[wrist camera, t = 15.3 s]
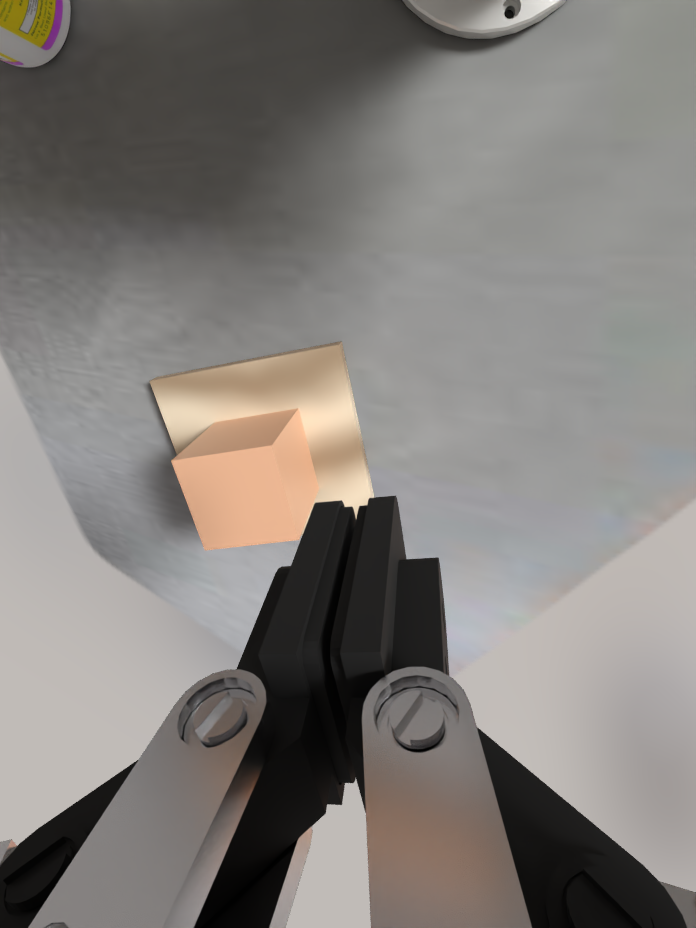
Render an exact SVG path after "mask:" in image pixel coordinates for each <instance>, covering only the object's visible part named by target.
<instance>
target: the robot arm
mask: <svg viewBox="0 0 696 928" xmlns="http://www.w3.org/2000/svg"><path fill="white" fill-rule="evenodd" d="M402 1H403V2H404V3H405V5H406V6H407V7H408V8H409V9H410V10H411V11H412V12H414V13H415V14H416V15H417V16H418V17H419V18H421V19H422V20H423V21H424V22H425V23H427V24H429V25H431V26H433V27H435V28H436V29H438V30H440V31H442V32H444V33H446V34H450V35H454V36H459V37H463V38H467V39H492V38H496V37H501V36H505V35H509V34H513V33H516V32H518V31H521V30H523V29H525V28H527V27H529V26H531V25H533V24H535V23H537V22H539V21H541V20H542V19H544V18H545V17H546V16H548V15H549V14H551V13H552V12H553V11H555V10H556V9H557V8H559V7H560V6H561V5H563V4H564V3H565V2H566V1H567V0H402ZM506 10H512V11H513V14H514V16H513V18H511V19H507V18H506V17H505V15H504V12H505V11H506ZM355 778H356V779H357V783H358V786H359V790H360V793H361V797H362V801H363V805H364V808H365V812H366V823H367V848H368V871H369V892H370V893H369V894H370V916H371V928H696V892H692V891H689V890H686V889H683V888H679V887H676V886H673V885H670V884H666V883H663V882H660V881H658V880H657V879H656V878H655V877H654V876H653V875H652V874H651V873H650V872H649V871H648V870H647V869H646V868H645V867H644V866H643V865H642V864H641V863H640V862H639V861H637V860H636V859H635V858H634V857H633V856H631V855H630V854H629V853H628V852H627V851H625V850H624V849H623V848H622V847H621V846H619V845H618V844H617V843H616V842H615V841H613V840H612V839H611V838H610V837H609V836H607V835H606V834H605V833H604V832H602V831H601V830H600V829H599V828H598V827H596V826H595V825H594V824H593V823H592V822H590V821H589V820H588V819H587V818H586V817H584V816H583V815H582V814H581V813H579V812H578V811H577V810H576V809H575V808H574V807H572V806H571V805H570V804H569V803H568V802H566V801H565V800H564V799H563V798H562V797H560V796H559V795H558V794H557V793H555V792H554V791H553V790H552V789H551V788H550V787H548V786H547V785H546V784H545V783H544V782H542V781H541V780H540V779H539V778H537V777H536V776H535V775H534V774H533V773H531V772H530V771H529V770H528V769H527V768H526V767H524V766H523V765H522V764H521V763H519V762H518V761H517V760H516V759H515V758H513V757H512V756H511V755H510V754H509V753H507V752H506V751H505V750H504V749H503V748H501V747H500V746H499V745H498V744H497V743H495V742H494V741H493V740H492V739H491V738H489V737H488V736H487V735H486V734H485V733H483V732H482V731H481V730H480V729H479V728H477V727H476V723H475V719H474V716H473V712H472V708H471V705H470V702H469V700H468V698H467V696H466V694H465V692H464V690H463V689H462V687H461V686H460V685H459V684H458V683H457V682H456V681H455V680H454V679H453V678H451V677H450V676H449V666H448V650H447V634H446V620H445V609H444V598H443V589H442V580H441V571H440V563H439V558H423V559H406V554H405V547H404V541H403V534H402V527H401V521H400V514H399V508H398V502H397V498H396V496H387V497H376V498H369V500H368V504H367V505H363V506H359V509H358V513H357V518H356V517H355V513H354V509H353V507H352V506H351V507H345V506H344V503H343V501H342V500H340V501H328V502H317V503H315V504H314V506H313V509H312V511H311V514H310V517H309V519H308V522H307V525H306V528H305V530H304V533H303V536H302V538H301V541H300V544H299V546H298V549H297V552H296V554H295V557H294V560H293V562H292V565H291V566H286V567H281V568H279V569H278V570H277V572H276V574H275V576H274V579H273V581H272V584H271V586H270V588H269V591H268V593H267V596H266V598H265V601H264V603H263V606H262V608H261V611H260V613H259V615H258V618H257V620H256V623H255V625H254V628H253V630H252V633H251V635H250V637H249V640H248V642H247V645H246V647H245V650H244V652H243V655H242V657H241V660H240V662H239V665H238V667H237V669H236V670H224V671H221V672H217V673H213V674H211V675H209V676H208V677H205V678H203V679H202V680H200V681H198V682H197V683H196V684H194V685H193V686H192V687H191V688H189V689H188V690H187V691H186V692H185V693H184V694H183V695H182V697H181V698H180V699H179V700H178V701H177V703H176V704H175V705H174V707H173V709H172V710H171V711H170V713H169V714H168V716H167V718H166V719H165V721H164V722H163V724H162V725H161V727H160V728H159V730H158V731H157V733H156V734H155V736H154V737H153V739H152V740H151V742H150V743H149V745H148V746H147V748H146V750H145V751H144V752H143V754H142V755H141V757H140V759H139V760H137V761H136V762H134V763H133V764H131V765H130V766H129V767H127V768H126V769H124V770H123V771H121V772H120V773H118V774H117V775H115V776H114V777H113V778H111V779H110V780H108V781H107V782H105V783H104V784H102V785H101V786H99V787H98V788H97V789H95V790H94V791H92V792H91V793H89V794H88V795H87V796H85V797H83V798H82V799H81V800H79V801H78V802H76V803H75V804H73V805H72V806H71V807H69V808H67V809H66V810H65V811H63V812H62V813H60V814H59V815H57V816H56V817H54V818H53V819H51V820H50V821H49V822H47V823H46V824H44V825H43V826H41V827H40V828H38V829H37V830H36V831H35V832H34V833H32V834H31V835H30V836H29V837H27V838H26V839H25V840H24V841H23V842H21V843H20V844H19V845H18V846H17V845H16V844H15V843H14V842H13V841H12V839H11V840H7V841H3V842H0V928H285V927H286V924H287V921H288V918H289V914H290V911H291V908H292V904H293V901H294V898H295V895H296V891H297V888H298V885H299V881H300V878H301V875H302V871H303V868H304V865H305V862H306V858H307V854H308V852H309V848H310V844H311V838H312V831H313V830H312V825H313V824H315V823H316V822H317V821H318V820H319V819H320V818H321V817H322V816H323V815H324V814H325V813H326V807H327V804H335V805H342V799H343V792H344V785H345V783H354V781H355Z"/></svg>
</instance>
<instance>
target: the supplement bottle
mask: <svg viewBox="0 0 696 928" xmlns="http://www.w3.org/2000/svg"><path fill="white" fill-rule="evenodd" d="M70 15H71V7H70V0H0V60H1V61H3V62H6V63H9V64H11V65H15V66H18V67H37V66H40V65H43V64H45V63H47V62H48V61H50V60H51V59H52V58H53V57H55V56H56V54H57V53H58V52H59V51H60V49H61V48H62V46H63V44H64V42H65V40H66V37H67V34H68V30H69V25H70Z"/></svg>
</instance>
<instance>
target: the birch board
mask: <svg viewBox="0 0 696 928" xmlns="http://www.w3.org/2000/svg"><path fill="white" fill-rule="evenodd" d="M150 384H151V387H152V389H153V392H154V395H155V397H156V400H157V403H158V405H159V408H160V411H161V414H162V416H163V419H164V422H165V424H166V427H167V430H168V432H169V435H170V438H171V440H172V443H173V446H174V448H175V451H176V454H177V455H178V454H179V453H181V452H182V451H183V450H184V449H185V448H186V447H187V446H188V445H190V444H191V443H192V442H193V441H194V440H195V439H196V438H198V437H199V436H200V435H201V434H202V433H203V432H204V431H206V430H207V429H208V428H209V427H210V426H211V425H212V424H214V423H215V422H219V421H225V420H231V419H237V418H243V417H249V416H255V415H261V414H267V413H273V412H279V411H285V410H291V409H297V408H299V412H300V416H301V420H302V423H303V427H304V431H305V435H306V439H307V443H308V447H309V451H310V455H311V459H312V462H313V466H314V470H315V474H316V478H317V482H318V486H319V491H318V493H317V496H316V498H315V501H314V503H313V506H314V504H315V503H317V502H328V501H340V500H342V501H343V503H344V506H345V507H351V506H352V507H353V509H354V513H355V517H356V518H357V513H358V509H359V506H363V505H367V504H368V500H369V498H374V494H373V489H372V484H371V479H370V474H369V470H368V465H367V460H366V455H365V451H364V446H363V441H362V436H361V431H360V427H359V422H358V417H357V412H356V408H355V403H354V398H353V393H352V389H351V384H350V379H349V374H348V369H347V365H346V360H345V355H344V350H343V346H342V341H341V342H336V343H330V344H325V345H320V346H315V347H310V348H305V349H299V350H294V351H289V352H284V353H279V354H274V355H268V356H263V357H258V358H253V359H248V360H243V361H237V362H232V363H227V364H222V365H217V366H212V367H206V368H201V369H196V370H191V371H186V372H180V373H175V374H170V375H165V376H160V377H156V378H154V379H152V380H151V381H150ZM313 506H312V508H311V511H312V509H313ZM311 511H310V513H309V516H308V518H307V521H306V524H305V526H304V529H303V531H302V534H301V535H303V533H304V530H305V528H306V525H307V522H308V519H309V517H310V514H311Z"/></svg>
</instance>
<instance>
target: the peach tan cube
mask: <svg viewBox="0 0 696 928" xmlns="http://www.w3.org/2000/svg"><path fill="white" fill-rule="evenodd" d="M171 462H172V464H173V467H174V470H175V472H176V475H177V478H178V480H179V483H180V486H181V488H182V491H183V494H184V496H185V499H186V502H187V504H188V507H189V509H190V512H191V515H192V517H193V520H194V523H195V525H196V528H197V531H198V533H199V536H200V539H201V541H202V544H203V547H204V549H205V550H213V549H222V548H231V547H240V546H249V545H257V544H266V543H275V542H284V541H293V540H299V539H300V536H301V534H302V531H303V529H304V526H305V524H306V521H307V518H308V516H309V513H310V511H311V508H312V506H313V503H314V501H315V498H316V496H317V493H318V491H319V486H318V482H317V478H316V474H315V470H314V466H313V462H312V459H311V455H310V451H309V447H308V443H307V439H306V435H305V431H304V427H303V423H302V420H301V416H300V412H299V408H297V409H291V410H285V411H279V412H273V413H267V414H261V415H255V416H249V417H243V418H237V419H231V420H225V421H219V422H215V423H214V424H212V425H211V426H210V427H209V428H208V429H207V430H206V431H204V432H203V433H202V434H201V435H200V436H199V437H198V438H196V439H195V440H194V441H193V442H192V443H191V444H190V445H188V446H187V447H186V448H185V449H184V450H183V451H182V452H181V453H179V454H178V455H177V456H176V457H175V458H174V459H173V460H171Z"/></svg>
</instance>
